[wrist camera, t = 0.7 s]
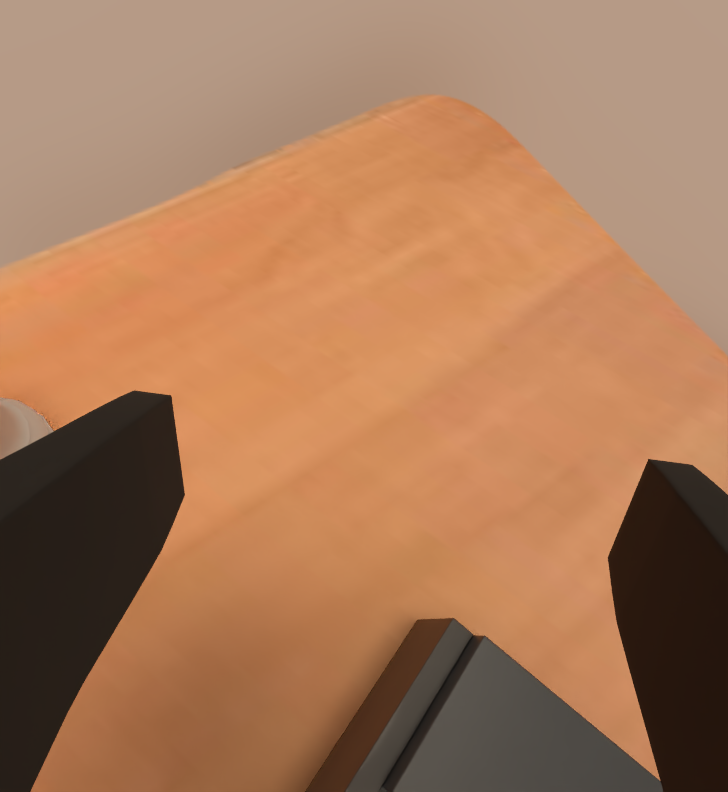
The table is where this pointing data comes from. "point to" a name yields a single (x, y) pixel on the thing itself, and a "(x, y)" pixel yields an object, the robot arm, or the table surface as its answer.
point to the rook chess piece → (19, 426)
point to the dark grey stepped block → (471, 728)
